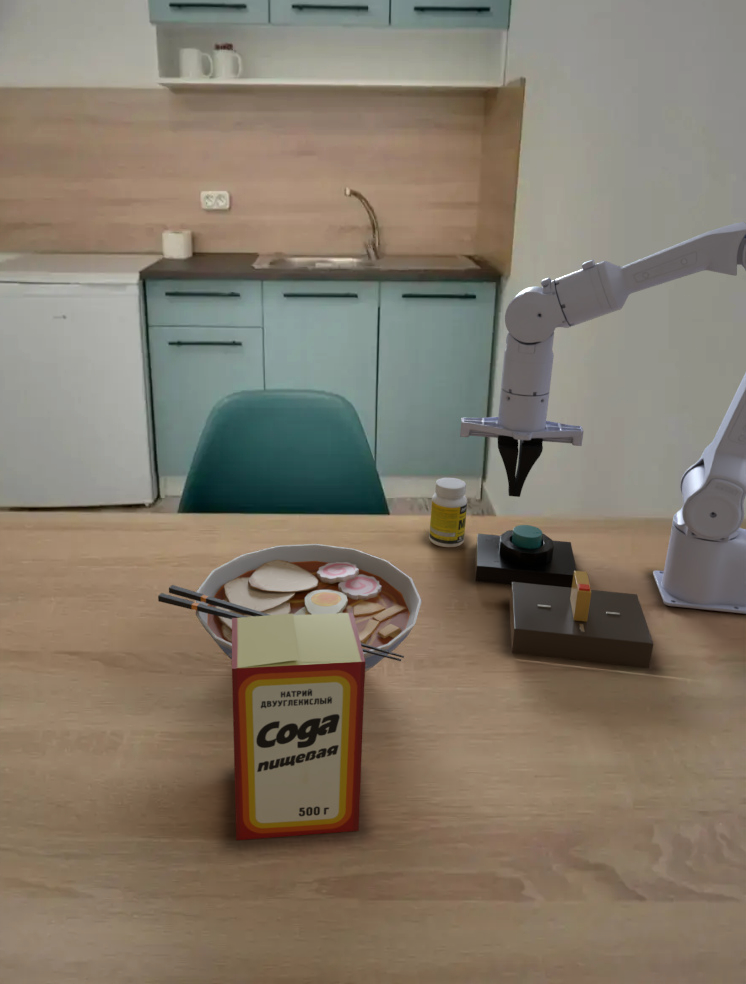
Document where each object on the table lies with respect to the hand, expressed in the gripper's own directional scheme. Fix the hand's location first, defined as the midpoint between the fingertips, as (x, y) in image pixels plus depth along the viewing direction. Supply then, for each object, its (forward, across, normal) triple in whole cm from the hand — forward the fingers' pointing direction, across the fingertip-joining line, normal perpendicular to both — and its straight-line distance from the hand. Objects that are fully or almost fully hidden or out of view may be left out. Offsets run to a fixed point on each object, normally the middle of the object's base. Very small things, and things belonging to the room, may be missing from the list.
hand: (514, 493), depth 104 cm
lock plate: (+9, +7, -16) cm, 20 cm away
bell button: (+6, +2, -2) cm, 6 cm away
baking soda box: (+10, -18, -46) cm, 50 cm away
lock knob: (+6, +7, -16) cm, 19 cm away
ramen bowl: (+10, -21, -26) cm, 35 cm away
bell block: (+9, +2, -2) cm, 10 cm away
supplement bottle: (+10, -8, +4) cm, 13 cm away
